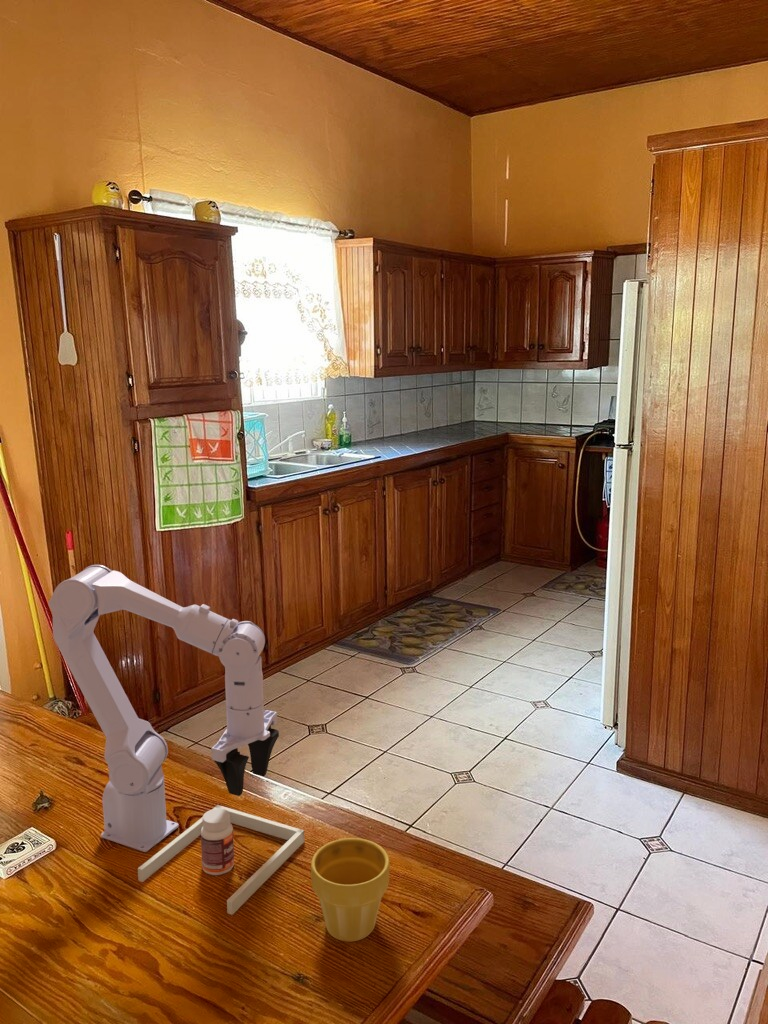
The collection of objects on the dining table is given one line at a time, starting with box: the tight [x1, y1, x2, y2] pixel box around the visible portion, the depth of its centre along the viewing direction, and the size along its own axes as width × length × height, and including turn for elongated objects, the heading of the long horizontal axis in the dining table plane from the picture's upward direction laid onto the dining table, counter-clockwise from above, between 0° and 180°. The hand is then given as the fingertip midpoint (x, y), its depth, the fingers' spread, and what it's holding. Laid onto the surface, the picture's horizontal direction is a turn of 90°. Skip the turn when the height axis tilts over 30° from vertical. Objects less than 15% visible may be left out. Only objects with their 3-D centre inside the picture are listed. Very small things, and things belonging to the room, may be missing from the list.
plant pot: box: [310, 837, 390, 943], centre depth 106 cm, size 10×10×10 cm
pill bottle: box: [200, 808, 235, 876], centre depth 119 cm, size 5×5×8 cm
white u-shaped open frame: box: [137, 804, 305, 916], centre depth 121 cm, size 17×19×2 cm
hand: (247, 783), depth 125 cm, fingers open, 6 cm apart
